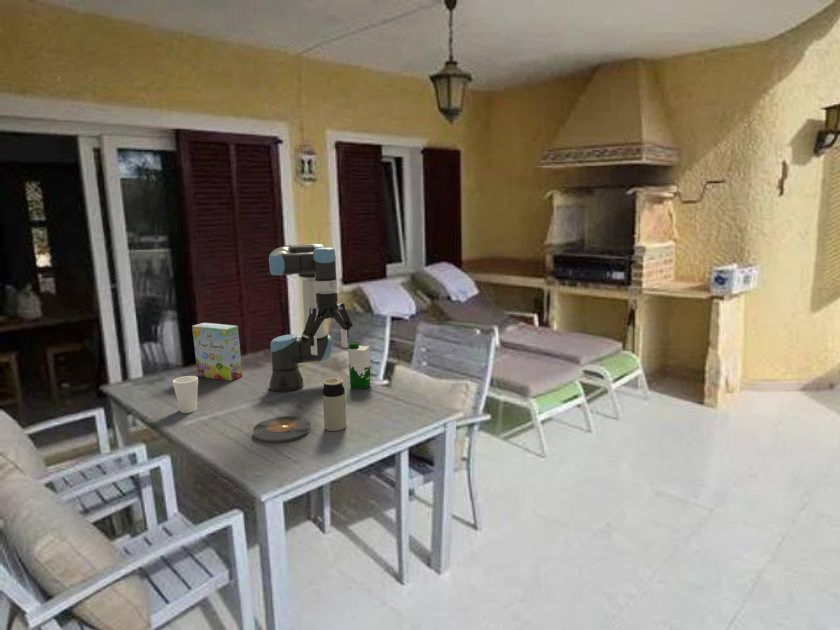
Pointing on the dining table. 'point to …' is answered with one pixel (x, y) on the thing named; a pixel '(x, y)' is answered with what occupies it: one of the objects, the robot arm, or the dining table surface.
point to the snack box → (217, 351)
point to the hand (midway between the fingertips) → (329, 350)
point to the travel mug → (334, 404)
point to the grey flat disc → (281, 429)
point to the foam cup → (186, 393)
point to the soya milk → (359, 366)
